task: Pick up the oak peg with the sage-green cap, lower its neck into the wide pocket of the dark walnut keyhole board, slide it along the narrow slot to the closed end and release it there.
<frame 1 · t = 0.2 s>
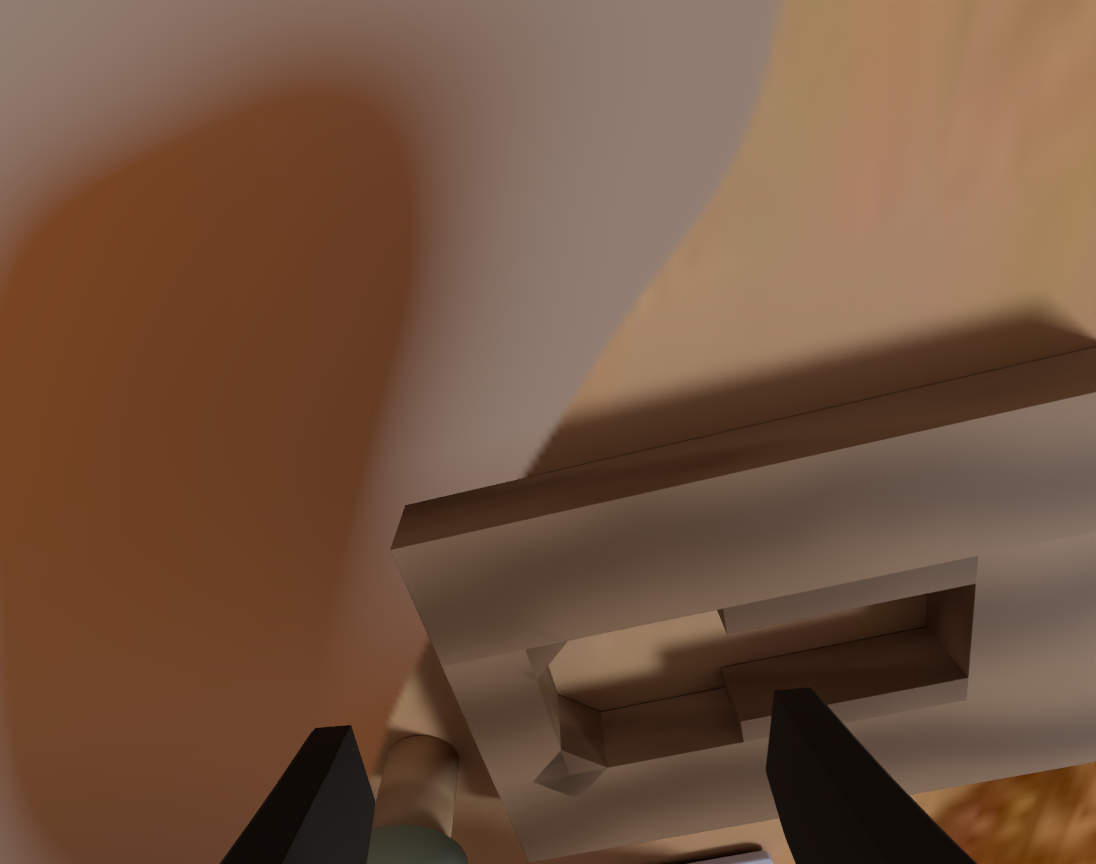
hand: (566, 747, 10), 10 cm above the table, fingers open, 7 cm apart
peg: (423, 760, 25), on the table
keyhole board: (762, 618, 22), on the table
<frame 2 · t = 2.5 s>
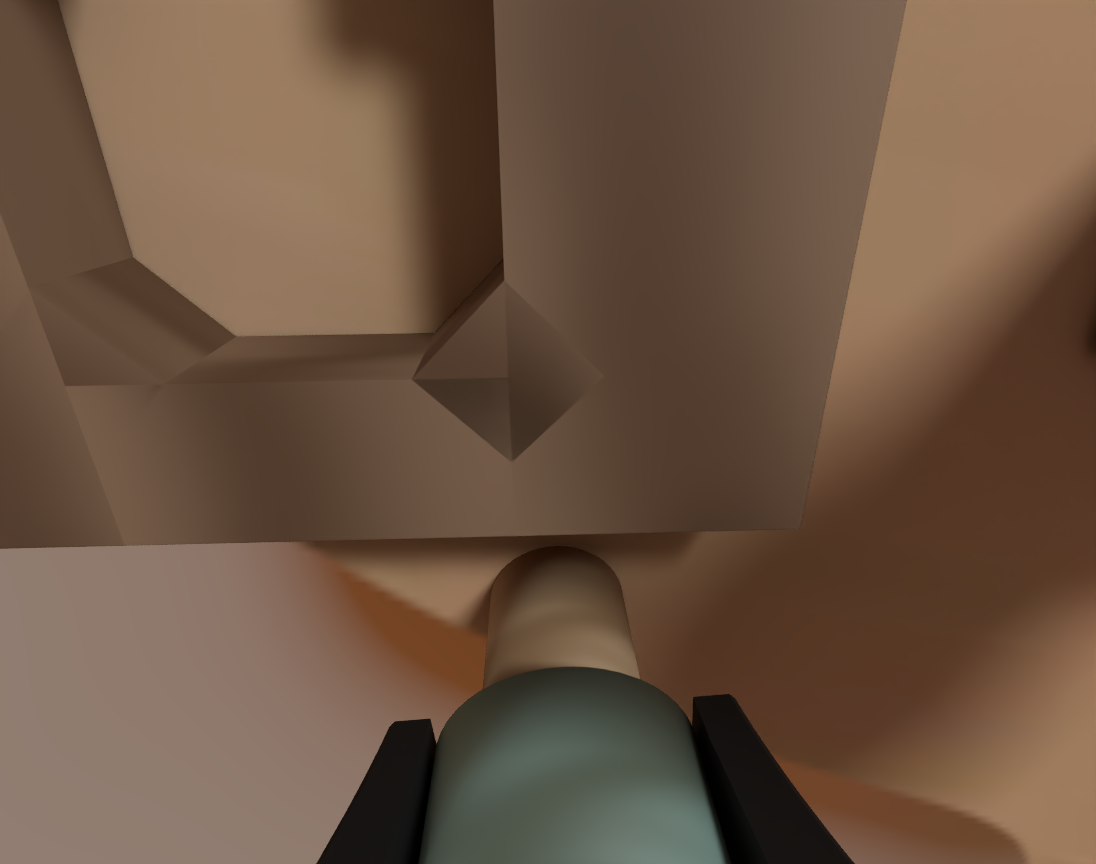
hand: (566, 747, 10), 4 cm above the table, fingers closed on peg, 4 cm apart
peg: (556, 600, 14), on the table, touching gripper
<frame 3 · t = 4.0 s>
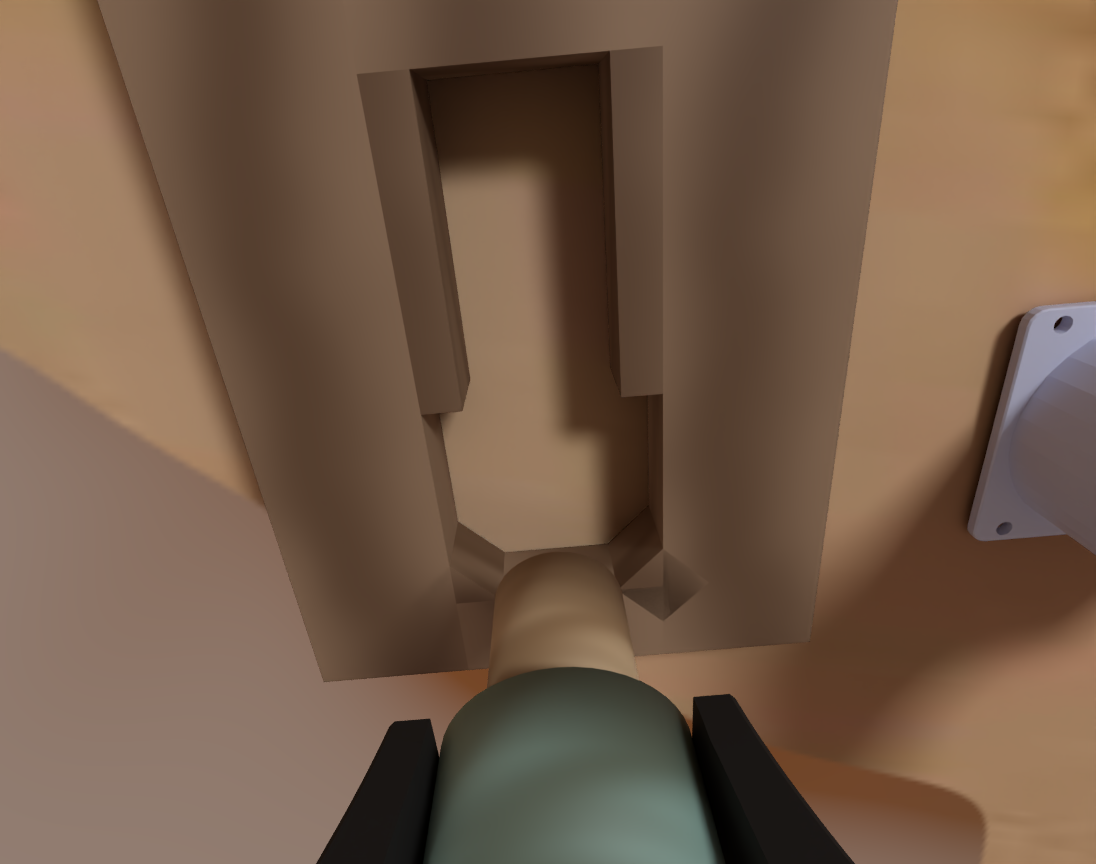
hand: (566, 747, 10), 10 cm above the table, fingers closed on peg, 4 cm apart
peg: (558, 604, 14), point 6 cm above the table, touching gripper
keyhole board: (534, 313, 17), on the table
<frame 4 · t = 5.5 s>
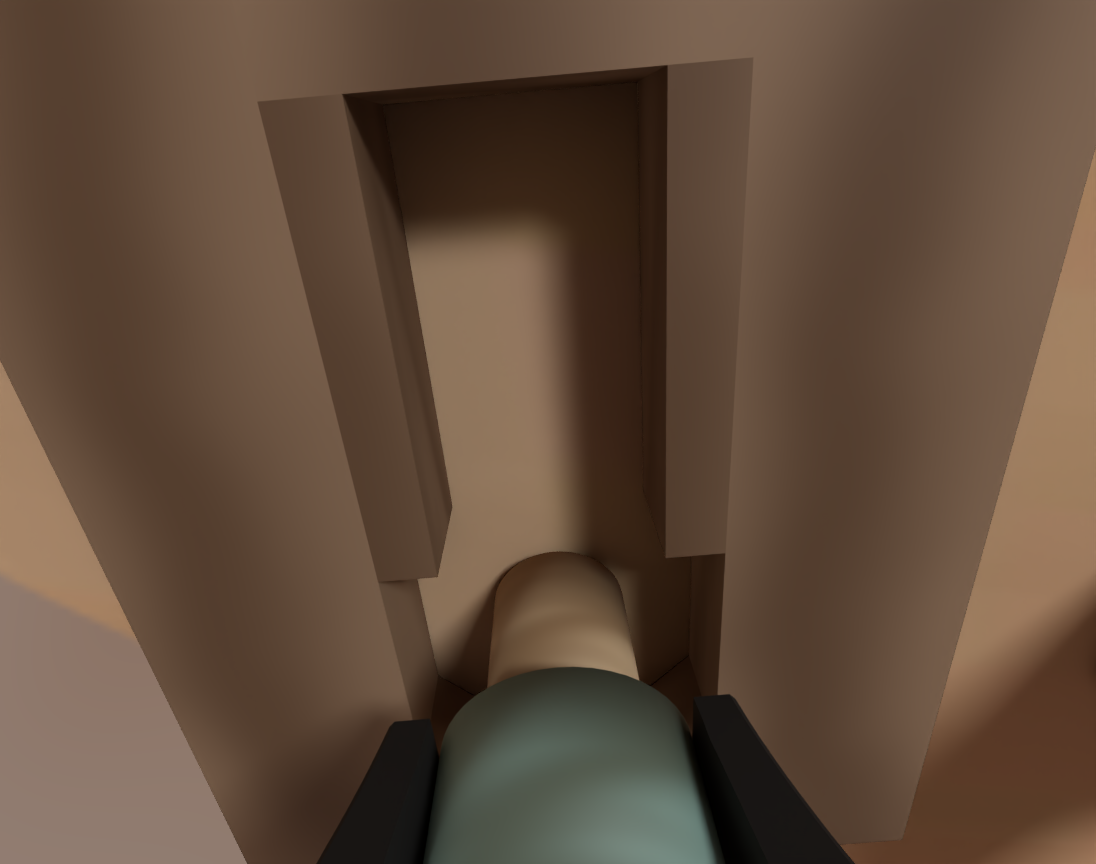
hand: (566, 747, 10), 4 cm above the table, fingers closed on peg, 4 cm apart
peg: (558, 604, 14), resting in keyhole board, touching gripper
keyhole board: (540, 424, 13), on the table
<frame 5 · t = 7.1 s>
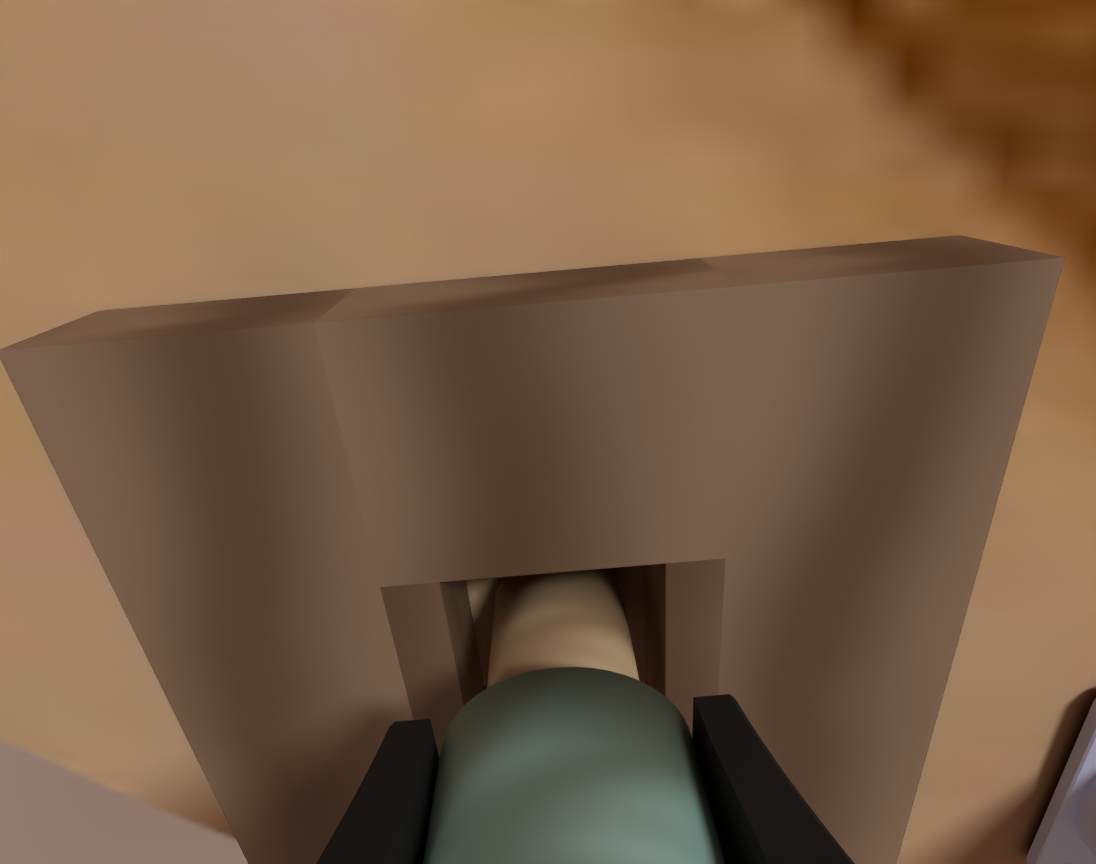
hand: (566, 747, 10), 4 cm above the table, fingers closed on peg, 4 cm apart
peg: (558, 604, 14), resting in keyhole board, touching gripper
keyhole board: (566, 697, 16), on the table
when the fingers open (4 cm above the table, at t = 8.4 s): peg stays where it is, resting in keyhole board.
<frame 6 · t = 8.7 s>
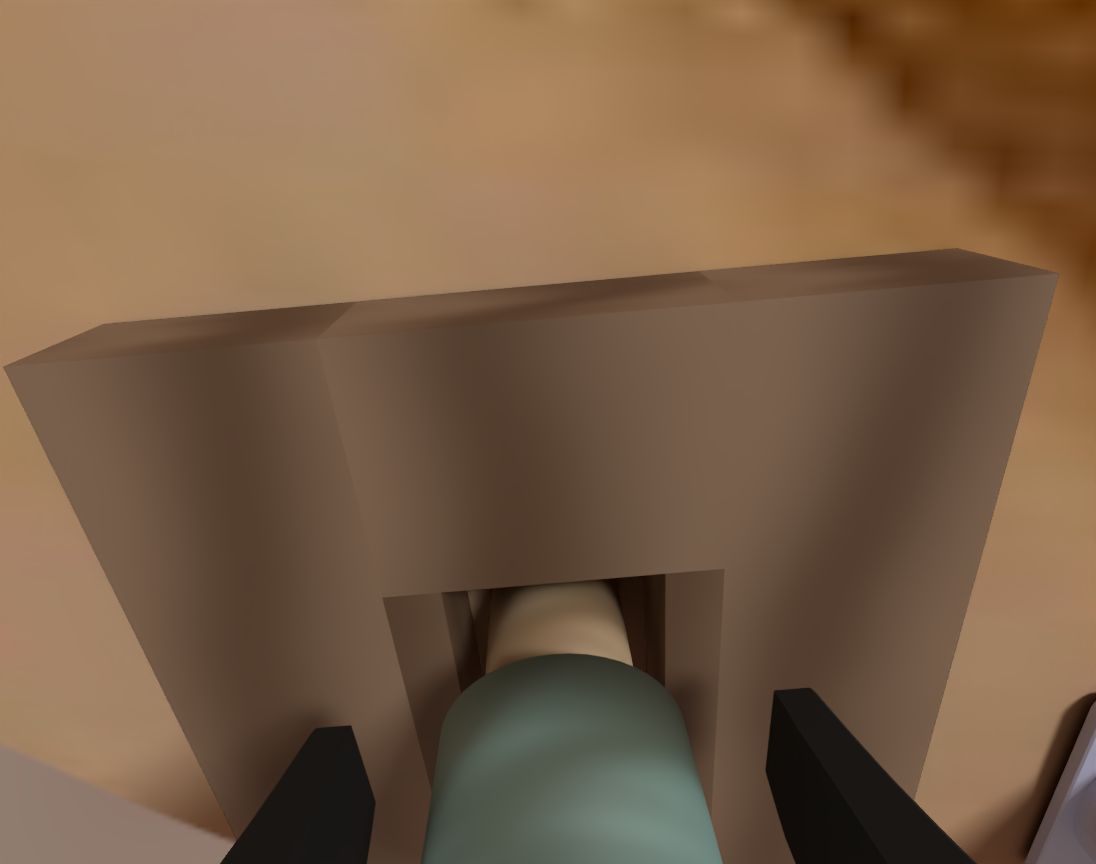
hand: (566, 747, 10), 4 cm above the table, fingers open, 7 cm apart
peg: (554, 595, 15), resting in keyhole board
keyhole board: (567, 703, 16), on the table
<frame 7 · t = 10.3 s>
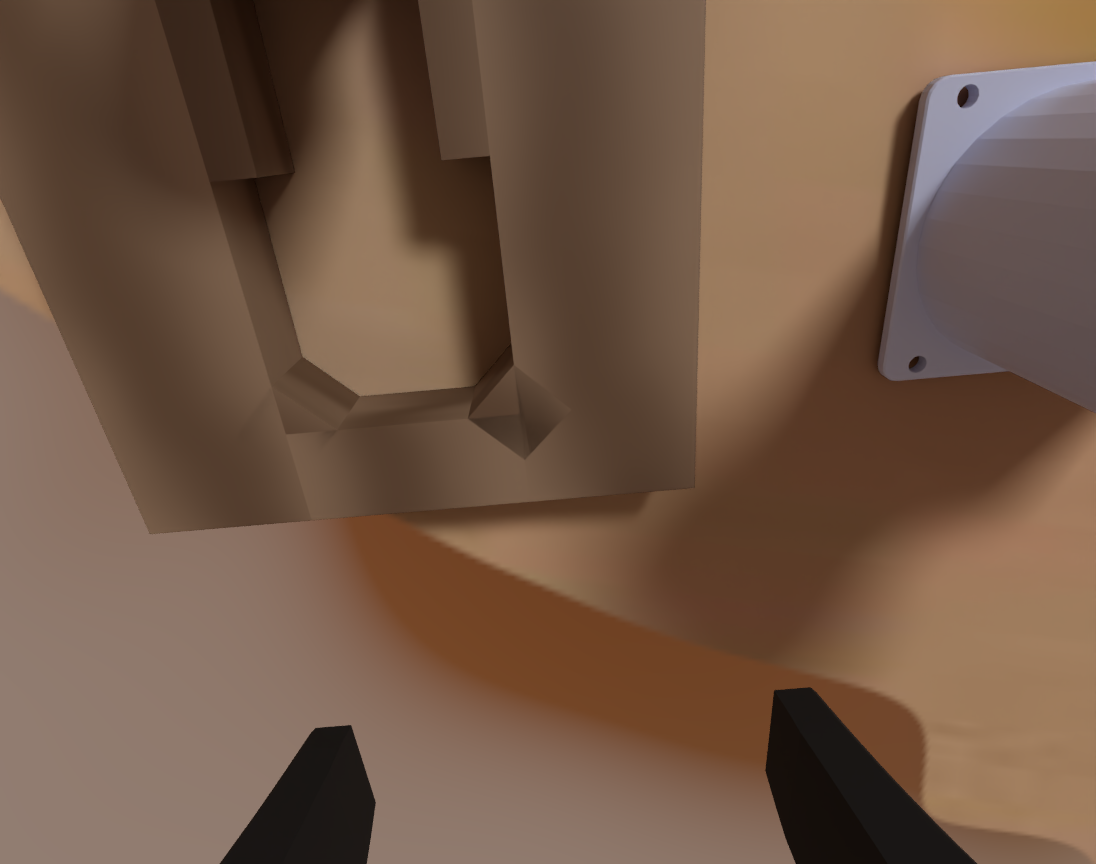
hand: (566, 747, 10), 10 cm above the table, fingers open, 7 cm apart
keyhole board: (359, 86, 15), on the table
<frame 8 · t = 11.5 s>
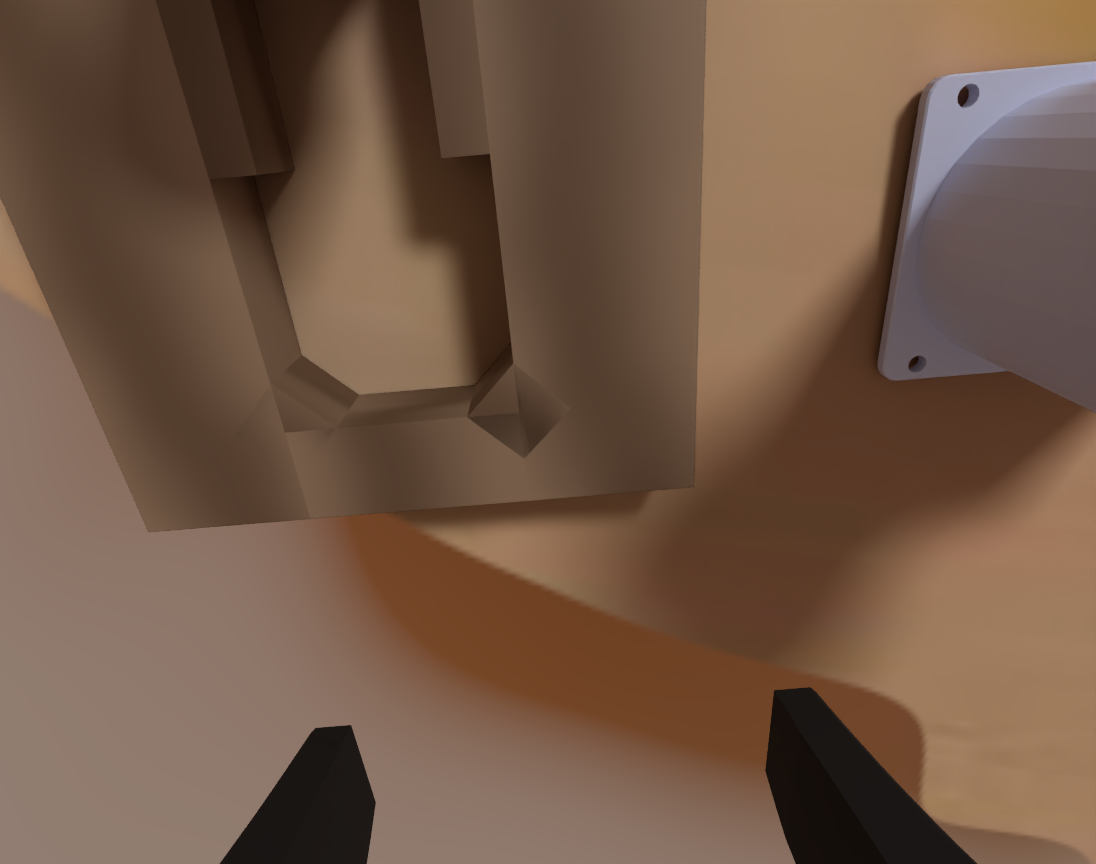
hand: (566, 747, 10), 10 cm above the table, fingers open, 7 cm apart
keyhole board: (359, 84, 15), on the table
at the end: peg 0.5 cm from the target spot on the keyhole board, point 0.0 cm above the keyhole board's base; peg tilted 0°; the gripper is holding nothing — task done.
